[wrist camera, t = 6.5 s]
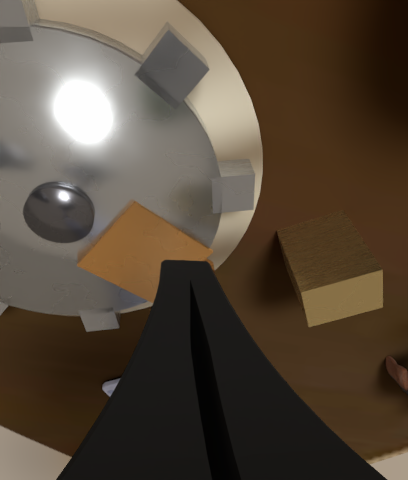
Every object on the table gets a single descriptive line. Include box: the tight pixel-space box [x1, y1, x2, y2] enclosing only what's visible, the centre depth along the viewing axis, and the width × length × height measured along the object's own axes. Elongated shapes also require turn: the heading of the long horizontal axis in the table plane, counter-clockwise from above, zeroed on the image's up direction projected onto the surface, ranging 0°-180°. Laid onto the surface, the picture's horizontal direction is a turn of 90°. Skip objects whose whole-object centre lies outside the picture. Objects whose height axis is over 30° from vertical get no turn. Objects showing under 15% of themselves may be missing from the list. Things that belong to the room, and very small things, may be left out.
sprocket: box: [0, 0, 255, 332], centre depth 17 cm, size 18×18×6 cm
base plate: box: [9, 0, 263, 316], centre depth 19 cm, size 20×20×1 cm
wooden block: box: [277, 210, 383, 327], centre depth 21 cm, size 4×3×5 cm
